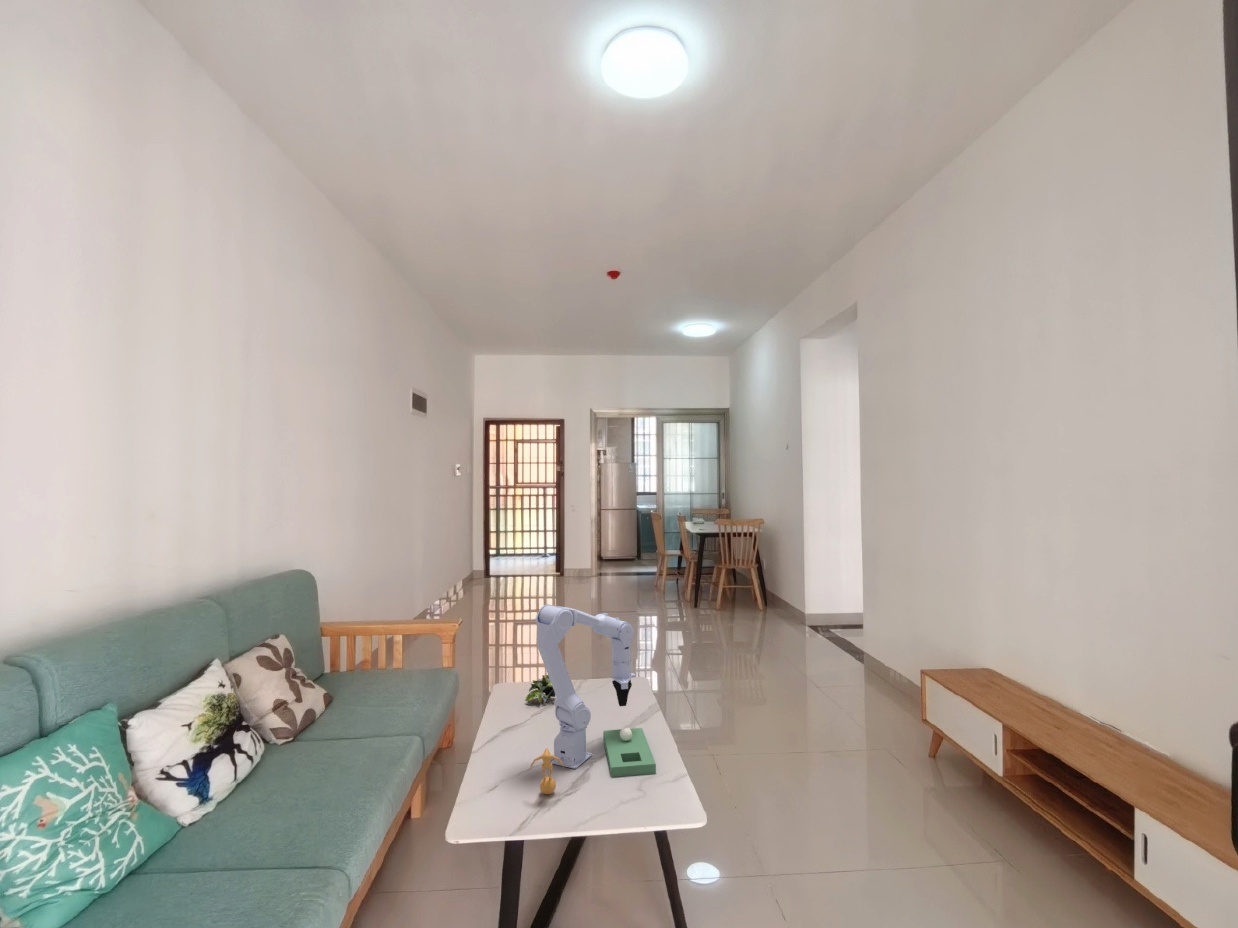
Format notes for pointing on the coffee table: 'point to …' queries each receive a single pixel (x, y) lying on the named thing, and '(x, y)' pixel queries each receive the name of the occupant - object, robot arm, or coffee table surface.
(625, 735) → the ball
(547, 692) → the passion flower
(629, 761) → the putting mat
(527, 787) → the coffee table surface
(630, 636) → the robot arm
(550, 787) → the figurine
